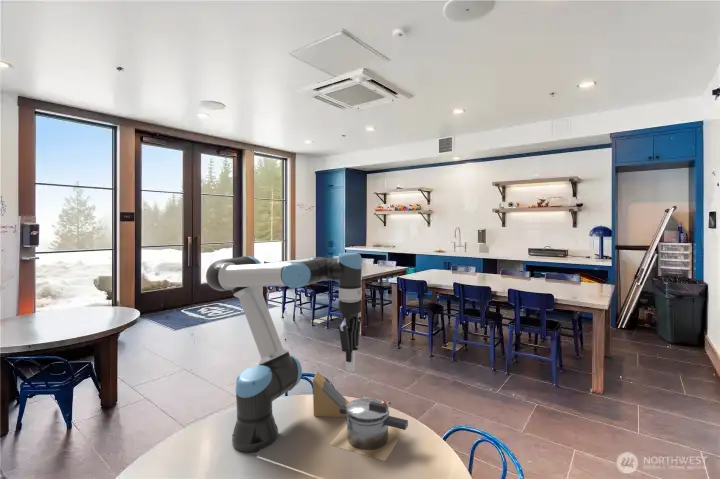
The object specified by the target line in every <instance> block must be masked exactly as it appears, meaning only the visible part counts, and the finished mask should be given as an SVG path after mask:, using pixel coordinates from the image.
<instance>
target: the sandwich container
mask: <svg viewBox="0 0 720 479" xmlns="http://www.w3.org/2000/svg"><path fill="white" fill-rule="evenodd" d="M312 379H313V380H312V389H313V390H312V391H313V392H312V395H313V396H312V399H313V416H314V417H328V418H330V417H338V418H339V417H341V418H343V417H344V418H345V417H346V415H345V414H341V413H340V408H341V407H342V406H343V405H344V406H347V404H348V403H349V402H350V401H348V400H347V399H346V398H345V396H344V395H342V394H341V393H340V392H339V391H338V390H337V389H336V387H334V386H333V385H332V384H331V383H330V382H329V381H328V380H327V378H325V377H324V376H323V375H322V374H321V373H320V372H319V371H318V370H316V373H315V374H314V377H313V378H312ZM346 418H347V417H346Z"/></svg>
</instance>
